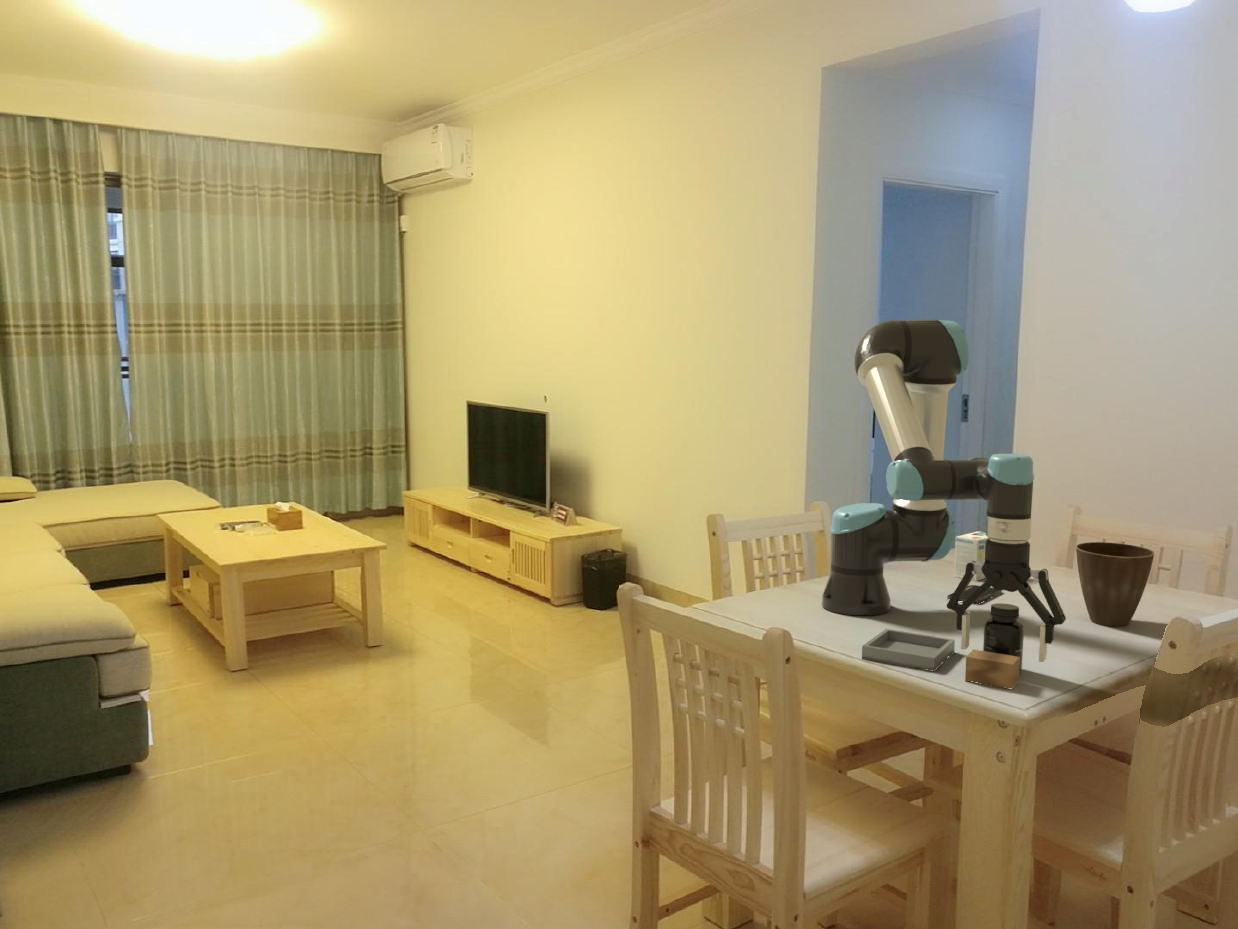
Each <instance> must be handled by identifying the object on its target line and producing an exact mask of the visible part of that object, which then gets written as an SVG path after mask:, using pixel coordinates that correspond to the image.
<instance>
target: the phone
mask: <svg viewBox="0 0 1238 929" xmlns="http://www.w3.org/2000/svg"><path fill="white" fill-rule="evenodd" d="M980 586H981V585H978V584H977V585H976V584H971V585H970V584H969V585H968V586H967V588H966V590H965V591H964V593H963V595H962V596H961V598H960V600H959V601H963V602H964V601H966V600H967V599H968V598H969V597H970V596H971V595H972V594H973V593H974V592H975V591H976V590H977V589H978V588H979V587H980ZM953 593H954V592H953ZM953 593H950V594H948V595H947V597H946V598H948V599H950V598H951V597H952V595H953ZM1002 593H1003V590H996V589H994V588H993V587H990V588H989V589H988V590H987V591H985V592H984V593H983V594H982V595H981V596H980V597H979V598H978V599H977V600H976V601H975V602H974V603H973V604H972V605H975V604H979V603H981V602H983V601H986V602H987V600H988V599H990V598H991V597H994V596H995V595H998V596H999V594H1000V595H1002ZM994 598H995V597H994ZM948 599H947V600H948ZM990 600H991V599H990ZM988 601H989V600H988ZM963 602H962V603H963ZM979 605H980V604H979Z"/></svg>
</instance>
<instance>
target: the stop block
mask: <svg viewBox="0 0 1238 929" xmlns="http://www.w3.org/2000/svg"><path fill="white" fill-rule="evenodd" d="M1019 668H1020V657H1017V656H1011V655H1005V654H999V653H993V652H986V651H983V650H979V649H972V650H971V651H970V652H969V653H968V654H967V655H966V656H965V674H964V675H965V676H964V681H965V682H967V681H973V682H978V683H981V684H980V685H983V684H987V685H986V686H989V685H992V686H991V687H994V686H996V688H1000V687H1006V688H1012V689H1014V688H1015V687H1016V686H1017V685H1018V683H1019V682H1020V673H1019ZM1018 681H1019V682H1018ZM1017 682H1018V683H1017ZM978 683H977V684H978ZM1016 684H1017V685H1016ZM1015 685H1016V686H1015ZM1014 686H1015V687H1014ZM1013 687H1014V688H1013Z"/></svg>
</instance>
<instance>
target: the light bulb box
mask: <svg viewBox="0 0 1238 929" xmlns="http://www.w3.org/2000/svg"><path fill="white" fill-rule="evenodd" d="M987 539H989V538H988V537H987V536H986V531H973V532H971V533H965V534H962V535H957V536H956V535H955V540H954V541H955V543H954V544H955V545H954V547H955V549H954V571H953V572H954V575H953V577H954V578H958V577H960V578H959V579H962V578H963V577H964V575H965V571H966V565H967V564H968V563H969V562H971V561H975V562H976V563H978V564H982V565H984V562H985V543H986V541H987ZM984 578H985V579H986V577H985V576H984V574H983V573H982V571H979V572H978V574H976V575H974V576H973V578H972V580H971V581H975V582H977V581H981V580H984Z"/></svg>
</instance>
